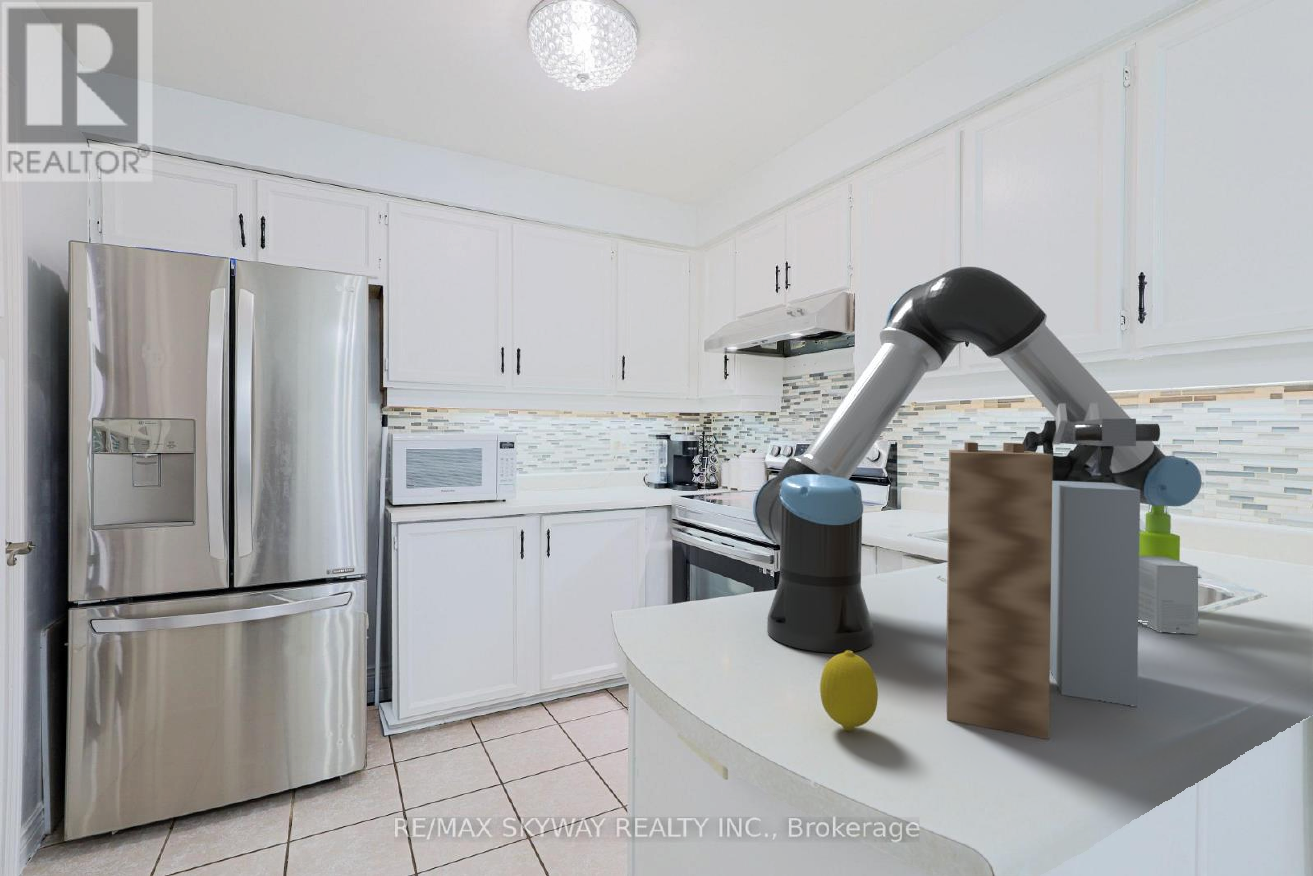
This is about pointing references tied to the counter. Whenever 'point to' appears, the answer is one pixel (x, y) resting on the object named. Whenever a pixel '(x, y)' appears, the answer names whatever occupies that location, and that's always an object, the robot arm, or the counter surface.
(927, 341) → the robot arm
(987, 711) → the walnut stand
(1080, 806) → the counter surface
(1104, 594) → the block
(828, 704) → the lemon
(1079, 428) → the dark grey bar
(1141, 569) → the small box
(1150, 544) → the soap dispenser
